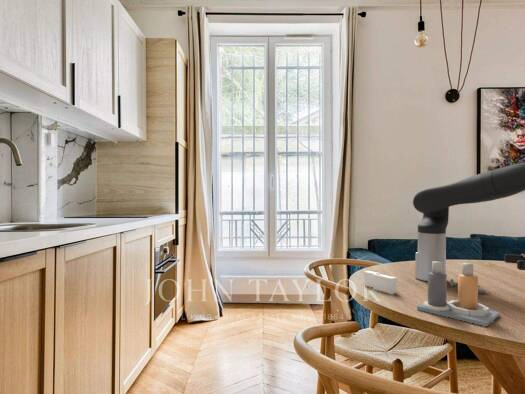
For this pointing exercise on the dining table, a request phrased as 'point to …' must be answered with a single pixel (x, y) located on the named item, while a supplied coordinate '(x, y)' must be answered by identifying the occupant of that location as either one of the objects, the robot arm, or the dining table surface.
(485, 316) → the bottle holder tray
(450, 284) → the clamp
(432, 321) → the dining table surface
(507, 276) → the dining table surface
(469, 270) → the orange lotion bottle
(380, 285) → the white stepped block
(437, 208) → the robot arm
